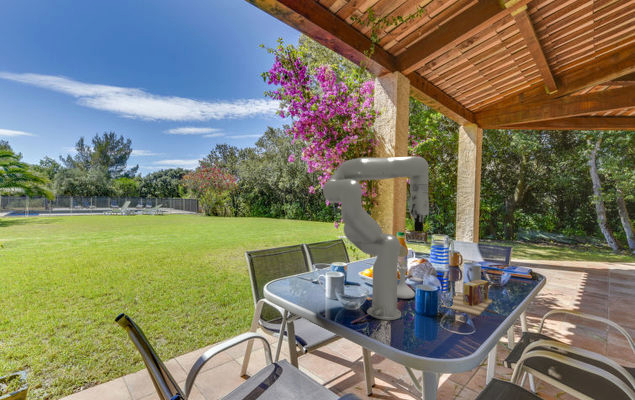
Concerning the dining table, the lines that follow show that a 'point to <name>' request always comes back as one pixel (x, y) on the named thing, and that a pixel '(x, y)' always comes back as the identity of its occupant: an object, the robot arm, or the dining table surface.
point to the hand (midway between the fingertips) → (418, 231)
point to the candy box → (475, 292)
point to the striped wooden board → (468, 306)
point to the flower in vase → (403, 278)
